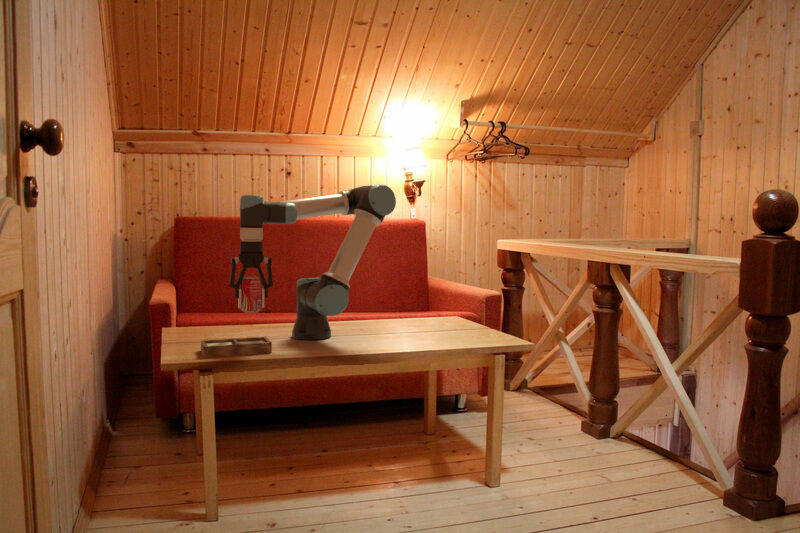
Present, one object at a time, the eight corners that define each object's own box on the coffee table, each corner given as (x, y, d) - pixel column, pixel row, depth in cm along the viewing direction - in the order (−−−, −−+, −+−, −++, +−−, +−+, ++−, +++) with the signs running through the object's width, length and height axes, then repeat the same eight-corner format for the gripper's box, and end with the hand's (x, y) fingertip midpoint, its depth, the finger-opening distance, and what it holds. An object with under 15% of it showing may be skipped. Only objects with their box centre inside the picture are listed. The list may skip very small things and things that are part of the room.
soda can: (242, 310, 197) (243, 276, 196) (263, 310, 198) (263, 276, 197) (238, 313, 190) (238, 277, 189) (259, 313, 191) (259, 278, 190)
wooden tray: (265, 346, 202) (265, 336, 202) (271, 352, 192) (271, 342, 192) (200, 350, 193) (200, 340, 193) (203, 357, 183) (203, 346, 183)
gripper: (278, 240, 200) (278, 305, 201) (219, 240, 192) (219, 307, 193) (282, 241, 193) (282, 307, 194) (222, 240, 185) (222, 310, 187)
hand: (251, 307), depth 194 cm, fingers closed on soda can, 7 cm apart
